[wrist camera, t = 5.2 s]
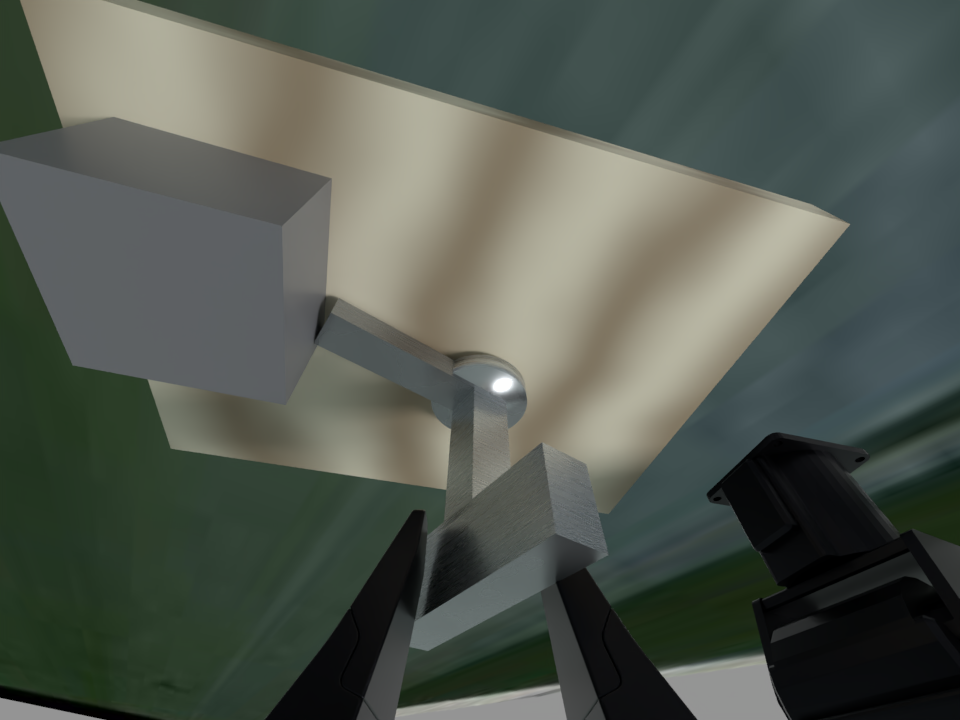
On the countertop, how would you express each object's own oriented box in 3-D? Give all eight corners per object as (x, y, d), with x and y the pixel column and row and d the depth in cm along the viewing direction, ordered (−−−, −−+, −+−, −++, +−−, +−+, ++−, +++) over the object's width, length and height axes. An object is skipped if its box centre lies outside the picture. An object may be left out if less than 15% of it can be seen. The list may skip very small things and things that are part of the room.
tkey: (378, 226, 13) (274, 421, 6) (577, 352, 16) (644, 569, 10) (293, 379, 17) (175, 593, 11) (465, 455, 20) (458, 657, 14)
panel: (811, 204, 15) (850, 224, 13) (600, 485, 26) (608, 513, 24) (76, -19, 11) (11, -27, 10) (193, 419, 22) (170, 448, 20)
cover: (331, 178, 12) (281, 225, 9) (323, 333, 16) (285, 405, 13) (114, 116, 11) (-25, 146, 8) (157, 297, 15) (72, 365, 12)
